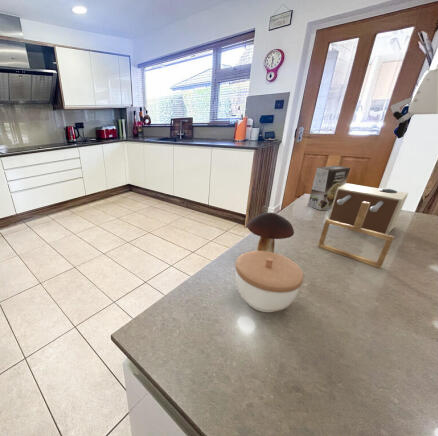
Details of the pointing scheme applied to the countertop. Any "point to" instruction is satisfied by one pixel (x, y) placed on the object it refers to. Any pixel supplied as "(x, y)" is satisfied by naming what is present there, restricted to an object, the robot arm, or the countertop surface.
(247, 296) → the lidded bowl
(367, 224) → the cabinet
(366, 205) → the wooden frame with handle
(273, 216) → the decorative mushroom
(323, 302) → the countertop surface
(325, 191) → the coffee box
